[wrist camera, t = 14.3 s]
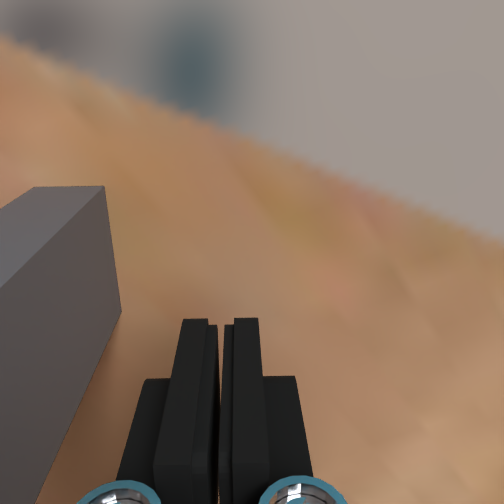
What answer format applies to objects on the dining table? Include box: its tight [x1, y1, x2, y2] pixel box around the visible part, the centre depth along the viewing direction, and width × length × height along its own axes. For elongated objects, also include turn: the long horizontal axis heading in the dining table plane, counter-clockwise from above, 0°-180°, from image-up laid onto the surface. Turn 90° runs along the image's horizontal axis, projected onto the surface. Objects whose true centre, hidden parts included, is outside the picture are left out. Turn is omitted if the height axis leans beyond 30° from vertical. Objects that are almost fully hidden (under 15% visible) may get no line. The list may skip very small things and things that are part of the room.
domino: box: [0, 186, 122, 504], centre depth 12 cm, size 2×5×10 cm, turn 0°
